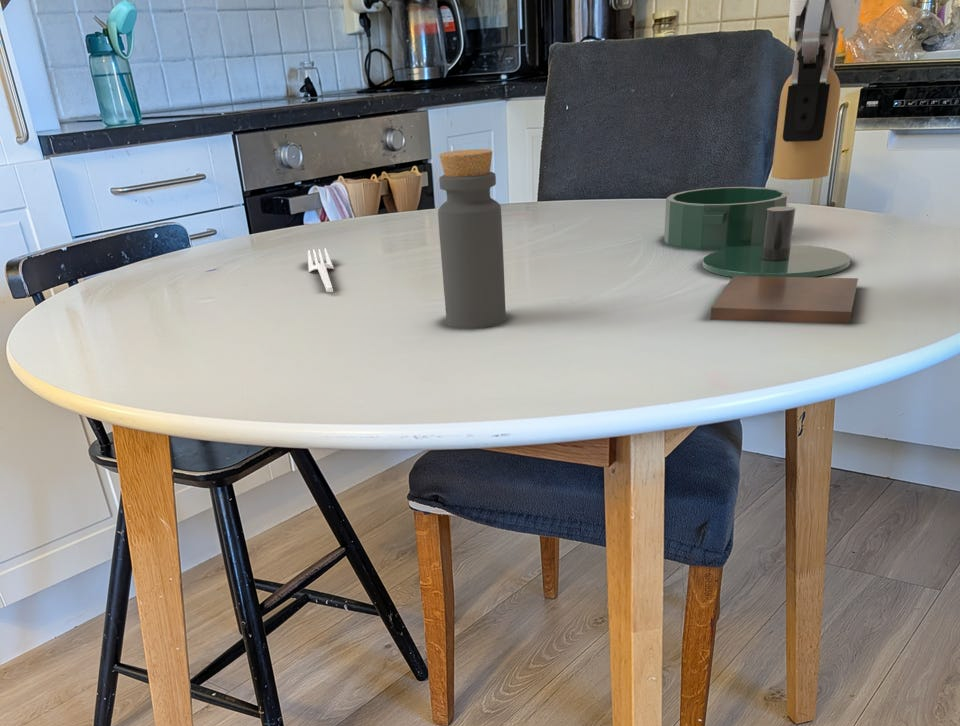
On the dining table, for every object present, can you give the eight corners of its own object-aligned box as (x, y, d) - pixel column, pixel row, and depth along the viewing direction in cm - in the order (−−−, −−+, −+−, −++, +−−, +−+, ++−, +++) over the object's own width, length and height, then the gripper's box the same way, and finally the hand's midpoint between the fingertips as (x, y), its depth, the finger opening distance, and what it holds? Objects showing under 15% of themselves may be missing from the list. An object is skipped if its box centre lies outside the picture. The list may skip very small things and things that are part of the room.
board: (855, 294, 86) (858, 278, 86) (848, 329, 77) (851, 311, 76) (731, 291, 91) (733, 275, 90) (709, 324, 81) (711, 307, 80)
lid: (852, 255, 101) (861, 196, 97) (844, 287, 89) (854, 221, 85) (714, 254, 106) (719, 198, 103) (690, 284, 94) (694, 221, 91)
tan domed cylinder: (830, 171, 78) (846, 60, 74) (826, 179, 75) (843, 62, 70) (774, 172, 80) (787, 63, 75) (768, 180, 76) (780, 65, 72)
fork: (316, 297, 101) (313, 279, 99) (307, 265, 117) (304, 250, 116) (344, 293, 101) (342, 276, 100) (331, 262, 117) (329, 247, 116)
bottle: (514, 318, 87) (507, 147, 79) (494, 334, 82) (484, 154, 74) (460, 316, 89) (448, 149, 81) (437, 332, 84) (422, 156, 76)
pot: (790, 228, 117) (796, 182, 114) (772, 260, 101) (778, 208, 98) (681, 228, 122) (684, 184, 119) (648, 258, 106) (650, 209, 103)
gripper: (894, -167, 58) (845, 147, 68) (897, -133, 71) (856, 126, 81) (776, -150, 60) (746, 149, 71) (800, -121, 73) (772, 129, 83)
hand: (805, 134), depth 76 cm, fingers closed on tan domed cylinder, 4 cm apart
